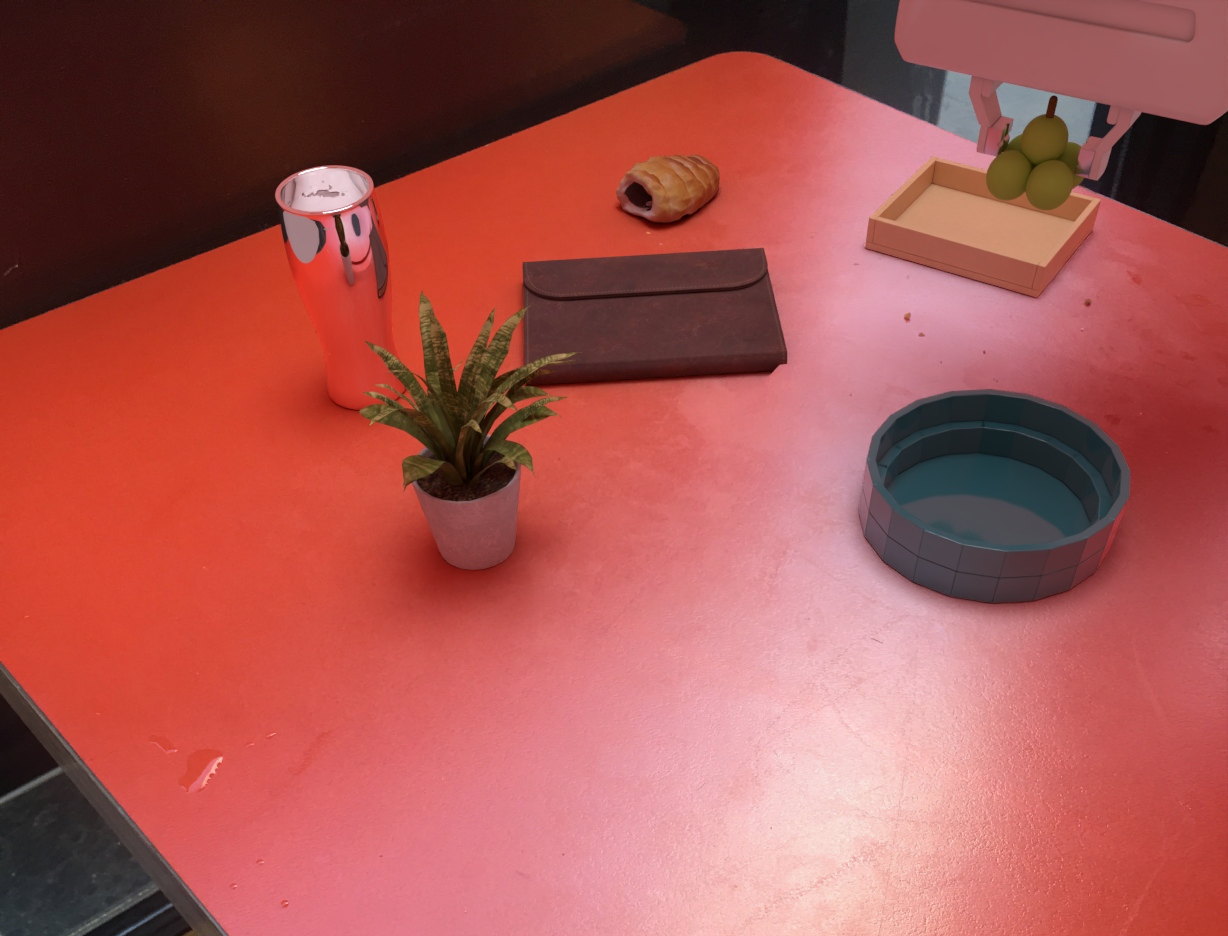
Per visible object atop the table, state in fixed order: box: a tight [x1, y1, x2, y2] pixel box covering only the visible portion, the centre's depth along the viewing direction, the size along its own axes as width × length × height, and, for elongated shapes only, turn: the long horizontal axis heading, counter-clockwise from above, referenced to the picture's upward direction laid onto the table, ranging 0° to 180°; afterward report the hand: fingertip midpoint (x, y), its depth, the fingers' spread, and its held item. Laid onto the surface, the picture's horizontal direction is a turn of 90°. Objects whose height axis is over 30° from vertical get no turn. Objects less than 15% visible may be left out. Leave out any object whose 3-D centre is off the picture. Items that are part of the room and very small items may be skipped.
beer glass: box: [274, 164, 407, 411], centre depth 88 cm, size 7×7×15 cm
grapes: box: [986, 94, 1085, 210], centre depth 76 cm, size 5×5×6 cm
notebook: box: [522, 247, 788, 386], centre depth 97 cm, size 15×20×2 cm
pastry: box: [615, 154, 721, 224], centre depth 107 cm, size 9×7×4 cm
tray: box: [864, 155, 1102, 298], centre depth 102 cm, size 15×12×3 cm
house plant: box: [357, 289, 581, 571], centre depth 75 cm, size 14×14×16 cm
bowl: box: [857, 388, 1132, 604], centre depth 80 cm, size 16×16×5 cm
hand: (1038, 162), depth 77 cm, fingers closed on grapes, 5 cm apart
